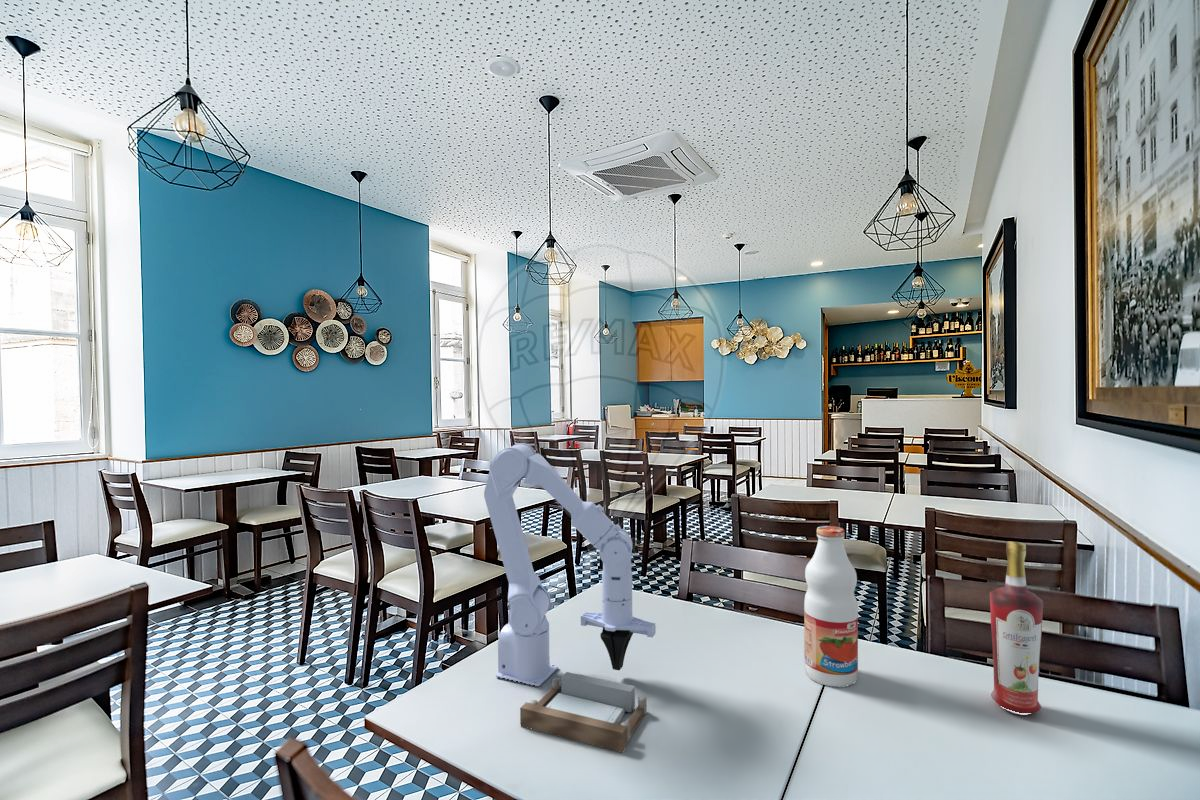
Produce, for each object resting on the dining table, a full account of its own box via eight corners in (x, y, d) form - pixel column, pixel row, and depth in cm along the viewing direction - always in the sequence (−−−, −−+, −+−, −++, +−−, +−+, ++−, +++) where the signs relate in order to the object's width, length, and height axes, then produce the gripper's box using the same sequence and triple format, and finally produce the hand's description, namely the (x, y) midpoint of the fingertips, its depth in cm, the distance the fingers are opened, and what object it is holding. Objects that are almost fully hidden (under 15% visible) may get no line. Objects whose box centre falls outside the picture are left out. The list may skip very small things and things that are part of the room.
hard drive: (536, 716, 94) (605, 733, 89) (559, 691, 101) (624, 706, 96) (536, 726, 94) (606, 744, 89) (559, 701, 101) (624, 716, 96)
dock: (520, 726, 93) (520, 707, 93) (554, 690, 104) (554, 674, 104) (622, 752, 86) (622, 732, 86) (647, 711, 97) (647, 694, 96)
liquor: (1036, 702, 98) (1036, 540, 98) (1048, 724, 92) (1049, 551, 91) (985, 693, 101) (985, 536, 101) (993, 714, 95) (994, 546, 94)
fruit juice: (830, 660, 114) (830, 520, 114) (869, 682, 106) (869, 531, 105) (793, 669, 111) (793, 525, 110) (830, 693, 102) (830, 537, 101)
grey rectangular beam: (561, 696, 101) (561, 677, 101) (566, 691, 103) (566, 671, 103) (630, 712, 96) (630, 691, 96) (634, 706, 98) (634, 686, 98)
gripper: (573, 598, 107) (574, 670, 107) (646, 609, 101) (647, 685, 101) (588, 586, 113) (589, 653, 114) (658, 595, 108) (659, 667, 108)
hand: (617, 667), depth 108 cm, fingers closed
